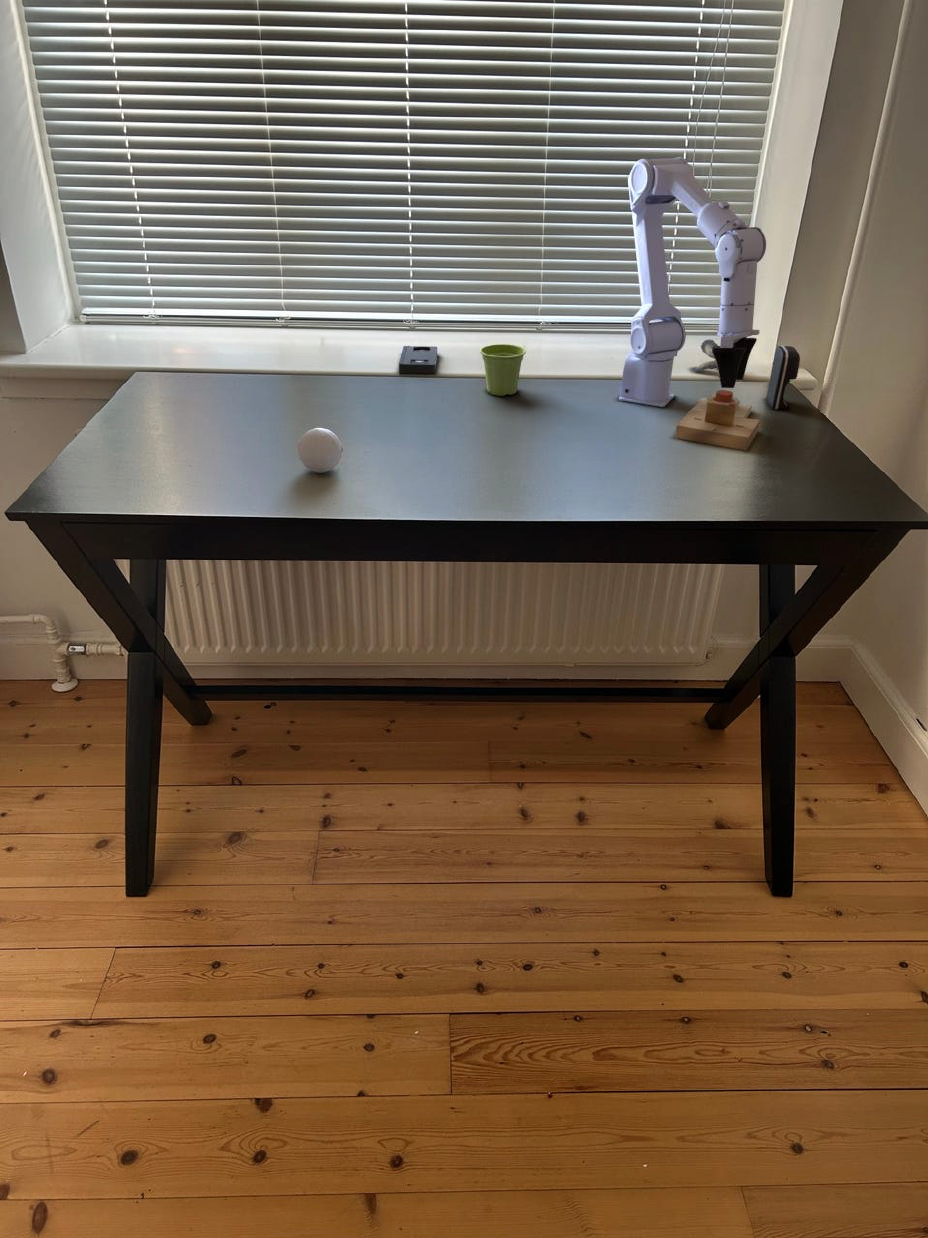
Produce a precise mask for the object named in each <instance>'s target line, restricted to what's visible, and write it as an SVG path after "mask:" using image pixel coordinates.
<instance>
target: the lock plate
mask: <svg viewBox="0 0 928 1238" xmlns="http://www.w3.org/2000/svg"><path fill="white" fill-rule="evenodd" d="M705 415H706V411H700V410H693V408H691V409H689V411H688V412H687V413H686V414H685V415H684V416H683V418H681V420H680V421H679V423H677V425H676V429H675V435H674V436H675V437H674V438H675V439H679V440H685V441H691V442H697V443H703V444H709V445H714V446H720V447H724V448H725V447H726V448H731V449H737V450H741V451H747V450H748V449H749V447H750V445H751V443H752V442H753V440H754V439H755V437H756V436H757V434H758V432H759V427H760V422H761V420H760V419H754V418H748V417H747V418H743V417H737V416H734V422H733V424H732V426H730V425H724V424H718V423H712V422H706V421H705Z"/></svg>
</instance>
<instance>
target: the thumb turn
mask: <svg viewBox="0 0 928 1238" xmlns="http://www.w3.org/2000/svg"><path fill="white" fill-rule="evenodd" d="M735 410H736V403H731V402H730V403H723V402H717V401H711V400H709V401H708V403H707V409H706V415H705V421H706V422H712V423H718V424H724V425H730V426H732V424H733V422H734V416H735Z"/></svg>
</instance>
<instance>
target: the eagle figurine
mask: <svg viewBox="0 0 928 1238" xmlns="http://www.w3.org/2000/svg"><path fill="white" fill-rule="evenodd" d="M714 346H719V344H718V343H716V342H715V341H714V339H705V340H704V341H702V343H701V344H700V349H701V350H702V353H704V354H705V355H706V356H708V357H709V358H711V359H713V360H710V361H709V360H708V361H704V362H702V363H700V364H699V365H697V366H695V367H692V368H691V371H693V372H700V371H704V370H714V369H716V370H717V371H719V370H718V365H717V362H716V359H715V357H714V355H713V353H712V347H714Z"/></svg>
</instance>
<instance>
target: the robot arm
mask: <svg viewBox="0 0 928 1238" xmlns="http://www.w3.org/2000/svg"><path fill="white" fill-rule="evenodd" d="M627 184H628V193H629V194H628V195H629V202H630V203H629V204H630V210H631V216H632V226H633V236H634V245H635V254H636V264H637V275H638V284H639V285H638V286H639V294H640V304H641V308H639V310H638V311H637V312H636V313H635V314H634V316H632V318H631V320H630V323H631V324H630V325H631V331H630V336H629V344H630V348H631V350H632V352H629V353H628V354H627V355H626V357H625V360H624V363H623V367H622V375H621V385H620V386H621V387H620V395H619V398H618V400H619V401H622V402H630V403H633V404H634V403H635V404H641V405H647V406H652V407H659V408H665V406H667V405H668V404H669V403H670V401H672V399H673V398H675V394H674V393H671V392H670V389H671V382H672V376H673V375H672V373H673V367H674V360H675V357H678V352H679V351H681V350H682V349H683V347H684V346H685V343H686V338H687V332H686V328H685V326H684V323H683V321H682V320H683V319H682V315H681V311H680V310H679V309H678V308H677V307H675V306H674V305H673V304H672V303H671V302H670V301H671V300H670V293H669V292H670V291H669V282H668V273H667V263H666V262H667V260H666V250H665V240H664V230H663V221H662V217H663V216H664V214H665V212H666V211H667V210H668V209H670V208H671V207H672V206H673V205H674V204H675V202H677V201H679V202H680V203H681V204H682V205H684V207H685V208H687V209H688V210H689V211H690V212H691V213H692V214H693V215H694V216H695V217H697V220H696V227H697V229H698V230H699V231H700V232H701V233H702V235H703V236H704V237H705V238H706V239H707V240H708V241H709V242H710V243H711V244H712V246H713V247H714V248H715V250H714V251H715V258H716V261H717V263H718V274H719V277H720V278H721V282H720V283H721V285H720V303H719V304H720V305H719V320H718V330H717V337H718V338H719V339H720V343H719V345H718V346H714V347H712V353H713V355H714V357H715V359H716V362H717V365H718V370H717V371H718V376H719V381H720V382H719V384H720V386H721V388H722V389H734V388H735V386H736V383H737V381H743V380H744V377H745V374H746V370H747V365H748V362H749V359H750V356H751V352H752V350H753V348H754V347H755V344H756V343H757V340H758V338H757V337H751V336H758V335H760V331H761V330H760V329H754V315H755V303H756V302H755V300H756V287H757V272H758V263H759V262H761V260H762V259H763V258H764V256H765V255H766V250H767V239H766V236H765V234H764V232H763V231H762V229H761V228H760V227H758V226H750V225H746V224H745V220H743V219H742V218H740V217H739V216H738V215H737V214H736V213H735V212H734V211H733V210H732V209H731V208H730V207H731V204H730V203H729V202H728V201H727V200H725V201H724V200H715V201H714V200H713V199H712V197H711V196H709V194H708V193H707V191H706V190H705V189H704V188H703V186H702V185H701V183H700V182H699V181H698V180H697V178H696V177H695V176H694V168H693V165H692V164H690V163H688V160H686V159H685V158H684V157H682V156H677V157H674V158H653V159H646V158H641V159H638V160H637V161H636V162H635V163H634V165H633V166H632V168H631V170H630V172H629V175H628V177H627ZM651 321H654V322H651ZM715 359H714V360H715Z"/></svg>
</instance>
